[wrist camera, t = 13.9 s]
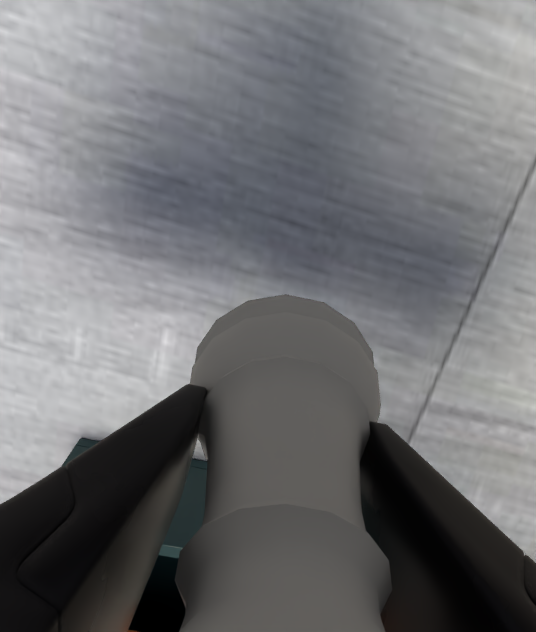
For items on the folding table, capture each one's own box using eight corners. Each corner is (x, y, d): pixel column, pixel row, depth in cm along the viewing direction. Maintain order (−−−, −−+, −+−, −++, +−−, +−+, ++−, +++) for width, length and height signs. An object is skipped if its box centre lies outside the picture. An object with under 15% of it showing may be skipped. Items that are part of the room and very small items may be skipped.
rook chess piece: (201, 438, 11) (46, 981, 4) (191, 285, 10) (-114, 737, 2) (363, 444, 11) (514, 1017, 4) (381, 289, 10) (721, 786, 2)
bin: (80, 437, 24) (24, 520, 18) (276, 474, 24) (274, 564, 19) (73, 629, 31) (32, 727, 26) (224, 654, 32) (213, 754, 26)
